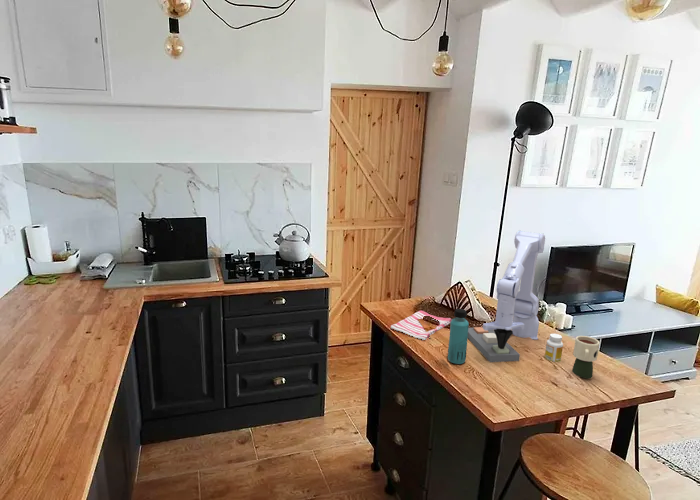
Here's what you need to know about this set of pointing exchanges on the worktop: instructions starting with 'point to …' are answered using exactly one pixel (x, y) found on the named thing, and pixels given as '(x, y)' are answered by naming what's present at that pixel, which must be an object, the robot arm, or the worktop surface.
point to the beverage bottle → (458, 337)
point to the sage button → (500, 350)
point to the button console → (491, 348)
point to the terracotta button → (480, 330)
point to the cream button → (490, 338)
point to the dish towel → (419, 325)
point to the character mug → (585, 356)
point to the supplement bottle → (554, 348)
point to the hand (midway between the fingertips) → (500, 347)
